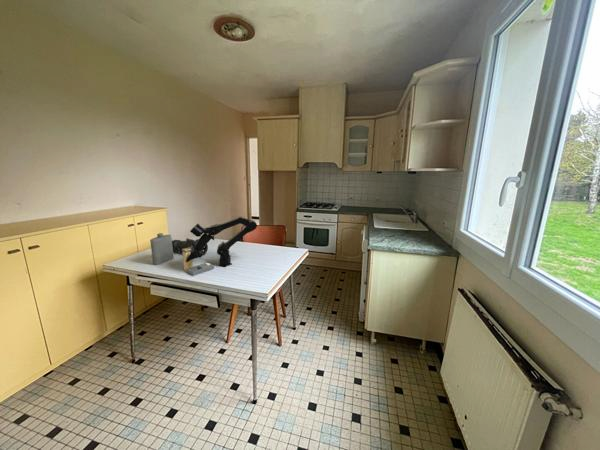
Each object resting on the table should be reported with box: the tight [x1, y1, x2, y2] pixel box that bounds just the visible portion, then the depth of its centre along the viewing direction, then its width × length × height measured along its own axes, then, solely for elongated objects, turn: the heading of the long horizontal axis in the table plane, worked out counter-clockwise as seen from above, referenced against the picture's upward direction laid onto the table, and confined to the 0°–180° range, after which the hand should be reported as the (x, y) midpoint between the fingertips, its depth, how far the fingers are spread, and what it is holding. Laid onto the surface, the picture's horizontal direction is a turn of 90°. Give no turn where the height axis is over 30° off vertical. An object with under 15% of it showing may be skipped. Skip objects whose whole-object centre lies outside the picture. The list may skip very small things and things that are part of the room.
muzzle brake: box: [172, 239, 209, 256], centre depth 176 cm, size 10×28×10 cm, turn 78°
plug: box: [182, 248, 194, 272], centre depth 146 cm, size 4×4×14 cm
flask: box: [150, 232, 174, 266], centre depth 158 cm, size 15×6×20 cm, turn 163°
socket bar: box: [185, 262, 215, 277], centre depth 146 cm, size 14×8×3 cm, turn 143°
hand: (185, 260), depth 145 cm, fingers closed on plug, 5 cm apart
